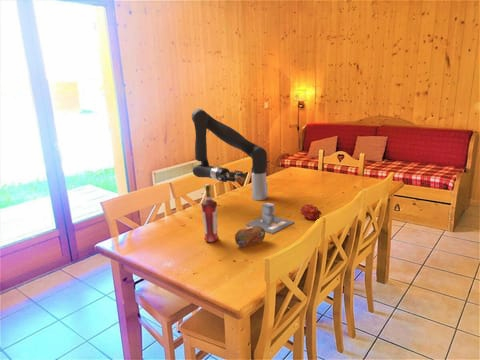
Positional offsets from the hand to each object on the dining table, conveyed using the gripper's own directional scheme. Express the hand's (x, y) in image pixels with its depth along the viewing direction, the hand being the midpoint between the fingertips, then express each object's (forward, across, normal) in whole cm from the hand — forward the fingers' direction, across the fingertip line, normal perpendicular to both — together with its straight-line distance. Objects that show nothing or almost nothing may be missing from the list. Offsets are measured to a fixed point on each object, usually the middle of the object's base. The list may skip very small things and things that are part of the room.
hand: (240, 177), depth 200 cm
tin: (+27, -24, +22) cm, 42 cm away
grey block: (+18, 0, +22) cm, 28 cm away
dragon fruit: (+31, +20, +24) cm, 44 cm away
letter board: (+19, 0, +23) cm, 29 cm away
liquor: (+10, -32, +22) cm, 40 cm away
